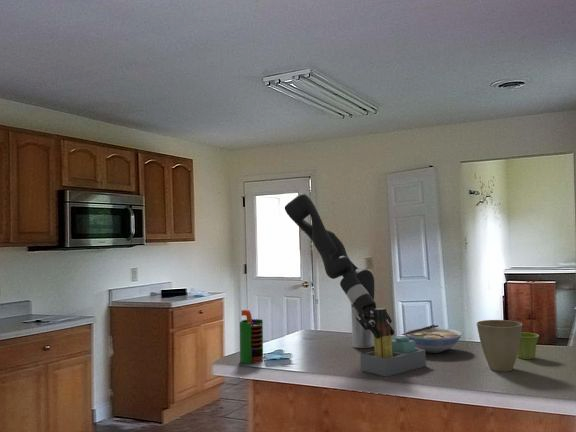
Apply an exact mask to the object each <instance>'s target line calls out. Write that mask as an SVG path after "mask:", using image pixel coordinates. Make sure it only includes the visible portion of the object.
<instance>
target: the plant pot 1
mask: <svg viewBox="0 0 576 432" xmlns="http://www.w3.org/2000/svg"><path fill="white" fill-rule="evenodd" d="M476 327H477V333H478V338H479V341H480V342H479V343H480V344H481V349H482V352H483V354H484V358H485V360H486V363H487V364H488V368H489V369H490V370H492V371H495V372H502V373H503V372H505V373H507V372H510V371H513V369H514V366H515V364H516V361H517V358H518V357H517V354H518V350H519V345H520V340H521V332H522V331H523V323H522V322H520V321H515V320H506V319H486V320H485V319H484V320H479V321H476Z"/></svg>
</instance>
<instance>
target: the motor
mask: <svg viewBox="0 0 576 432" xmlns="http://www.w3.org/2000/svg"><path fill="white" fill-rule="evenodd" d="M241 316H246V319H242V320H240V321H239V361H240V363H242V364H245V365H247V364H248V365H252V364H258V363H262V362H263V360H264V334H263V333H264V332H263V329H264V327H263V325H264V324H263V323H264V322H263V319H262V318H261V319H260V318H259V319H258V318H253V317H252V313H251V311H250V309H242V310H241Z"/></svg>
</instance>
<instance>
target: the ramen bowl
mask: <svg viewBox="0 0 576 432" xmlns="http://www.w3.org/2000/svg"><path fill="white" fill-rule="evenodd" d="M462 335H463V334H462V332H461V331H459V330H455V329H449V328H442V327H441V328H440V327H439V325H435V324H431V325H428V326H424V327H421V328H415V329H413V328H412V329H408V330H406V331H404V333H402V334H400V336H406V337H409V340H413V341H415V348H417V349H423V350H425V353H433V354H434V353H435V354H436V353H442V352H444V351H446V350H449V349H451V348H453V347H454V346H456V345H457V344H458V342H459V341H460V339H461V337H462Z"/></svg>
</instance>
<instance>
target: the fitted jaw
mask: <svg viewBox="0 0 576 432" xmlns="http://www.w3.org/2000/svg"><path fill="white" fill-rule="evenodd" d="M391 340H392V351H393V352H398V353H403V354H406V353H411V352H415V348H416V347H415V341H413V340H409V337H406V335H399V336H398V335H397V336H394V339H391Z"/></svg>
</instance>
